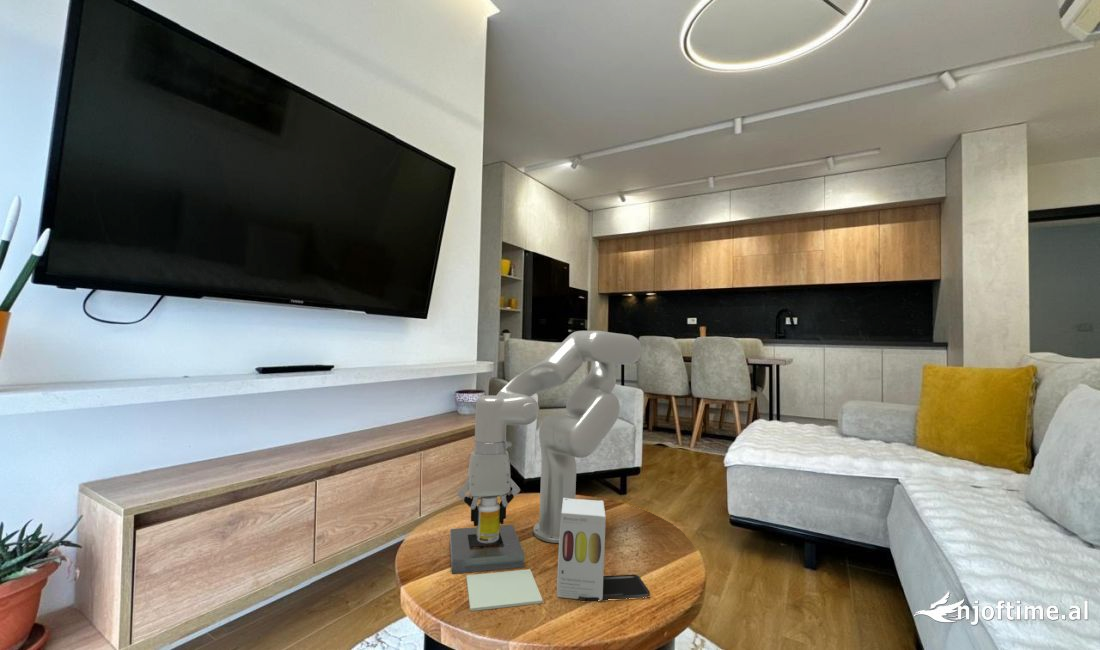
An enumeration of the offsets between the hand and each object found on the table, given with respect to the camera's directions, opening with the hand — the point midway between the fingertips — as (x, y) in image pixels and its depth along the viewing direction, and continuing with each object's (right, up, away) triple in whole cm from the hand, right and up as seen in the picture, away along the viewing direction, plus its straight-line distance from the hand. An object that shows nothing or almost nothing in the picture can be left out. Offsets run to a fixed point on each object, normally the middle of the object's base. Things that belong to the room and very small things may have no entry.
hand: (488, 522), depth 104 cm
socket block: (-1, -7, -1) cm, 7 cm away
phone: (+27, -8, -14) cm, 32 cm away
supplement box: (+21, -8, -14) cm, 26 cm away
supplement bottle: (0, -4, 0) cm, 4 cm away
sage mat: (+5, -7, -16) cm, 18 cm away
